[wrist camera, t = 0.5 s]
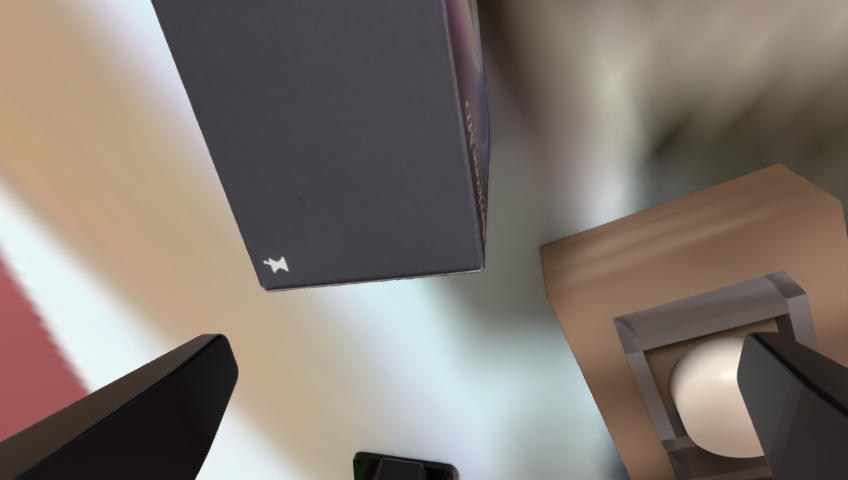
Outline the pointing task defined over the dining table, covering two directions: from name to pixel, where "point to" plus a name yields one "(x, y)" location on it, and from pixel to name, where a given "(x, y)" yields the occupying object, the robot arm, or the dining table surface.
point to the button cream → (714, 399)
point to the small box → (342, 132)
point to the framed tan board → (696, 303)
